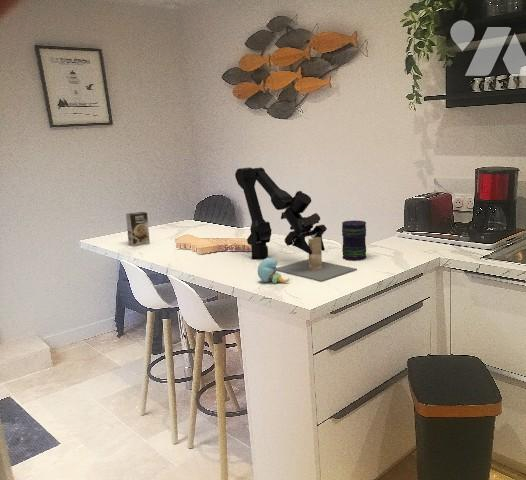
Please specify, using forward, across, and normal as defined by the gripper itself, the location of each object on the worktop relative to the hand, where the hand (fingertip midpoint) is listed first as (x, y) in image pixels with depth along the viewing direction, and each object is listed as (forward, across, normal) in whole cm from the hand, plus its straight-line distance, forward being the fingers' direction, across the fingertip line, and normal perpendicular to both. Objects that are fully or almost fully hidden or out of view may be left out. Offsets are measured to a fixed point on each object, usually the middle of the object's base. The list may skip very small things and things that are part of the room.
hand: (317, 251), depth 194 cm
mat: (+4, 0, +6) cm, 8 cm away
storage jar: (+4, +24, +7) cm, 25 cm away
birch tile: (+4, 0, +6) cm, 7 cm away
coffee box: (-69, -20, +80) cm, 107 cm away
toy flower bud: (+4, -21, +7) cm, 22 cm away
